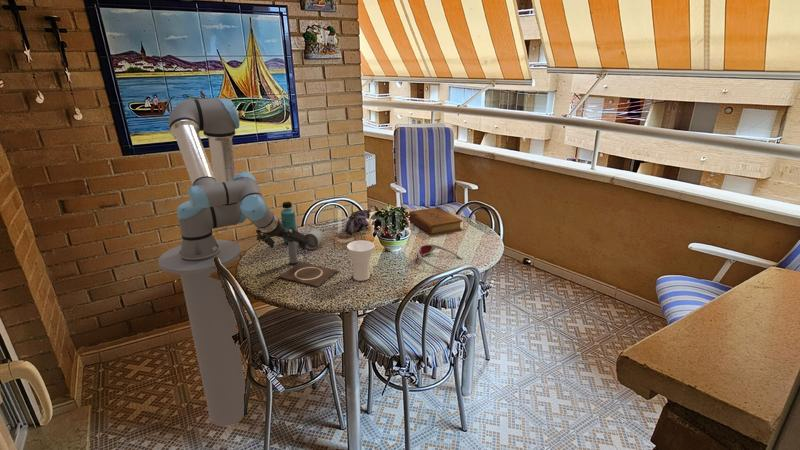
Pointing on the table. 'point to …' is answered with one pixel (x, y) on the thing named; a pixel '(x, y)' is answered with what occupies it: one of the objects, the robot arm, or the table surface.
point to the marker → (292, 252)
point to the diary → (435, 221)
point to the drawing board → (308, 274)
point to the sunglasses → (428, 249)
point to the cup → (360, 258)
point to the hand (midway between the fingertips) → (288, 245)
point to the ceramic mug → (314, 239)
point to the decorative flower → (357, 221)
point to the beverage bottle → (288, 217)
